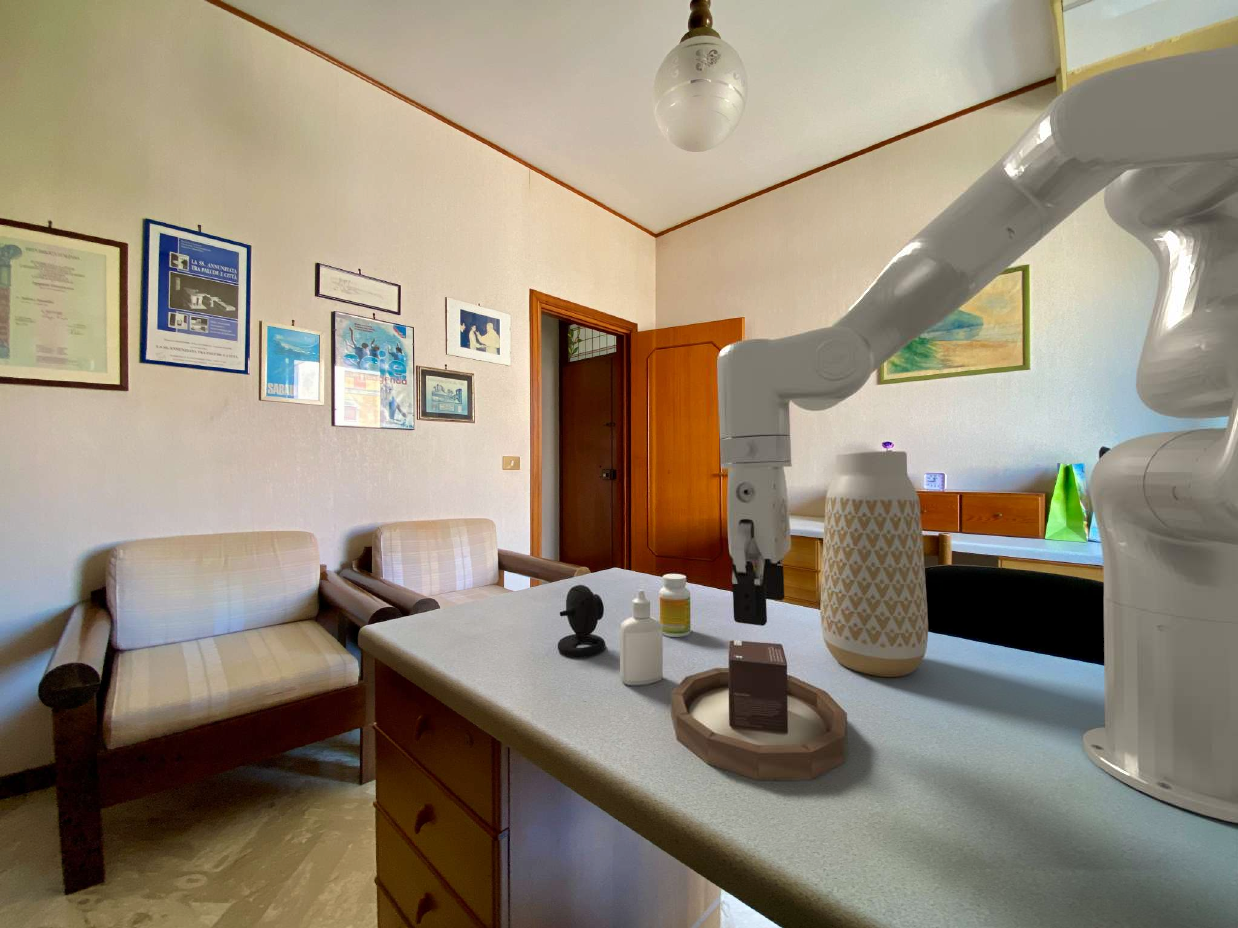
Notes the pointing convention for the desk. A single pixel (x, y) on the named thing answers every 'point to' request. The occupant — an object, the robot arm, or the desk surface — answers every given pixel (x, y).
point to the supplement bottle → (674, 606)
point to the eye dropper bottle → (641, 645)
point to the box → (758, 686)
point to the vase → (874, 566)
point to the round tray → (760, 753)
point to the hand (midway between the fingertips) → (761, 609)
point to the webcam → (582, 623)
